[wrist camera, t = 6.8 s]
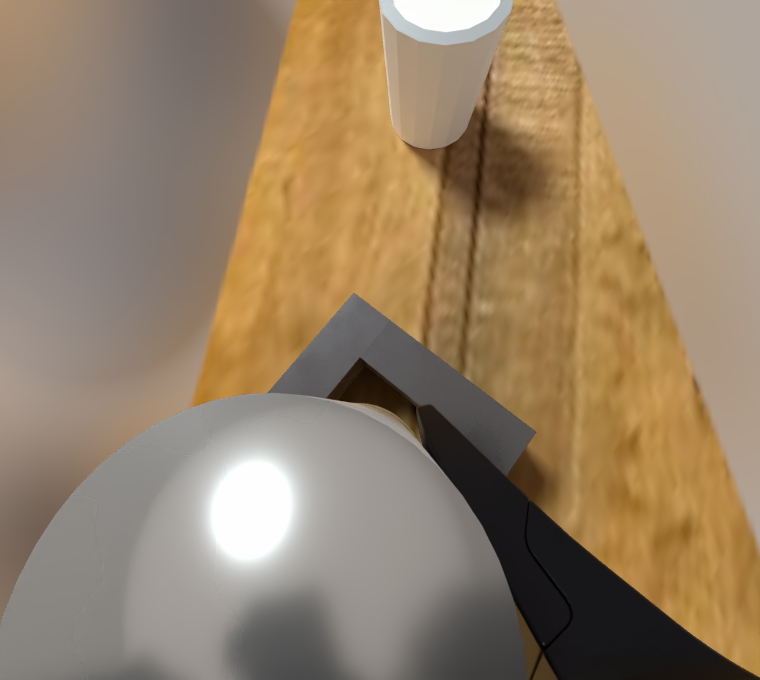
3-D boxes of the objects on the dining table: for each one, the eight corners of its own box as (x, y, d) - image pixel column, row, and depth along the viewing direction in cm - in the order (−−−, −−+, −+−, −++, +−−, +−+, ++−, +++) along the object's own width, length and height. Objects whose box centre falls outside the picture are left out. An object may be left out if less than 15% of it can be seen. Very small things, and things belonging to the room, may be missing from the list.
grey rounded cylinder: (401, 514, 14) (466, 1246, 2) (311, 485, 14) (-143, 912, 2) (424, 419, 15) (577, 466, 3) (339, 394, 15) (124, 335, 3)
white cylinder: (477, 78, 23) (513, -61, 16) (478, 157, 22) (519, 41, 15) (384, 78, 23) (381, -58, 16) (380, 156, 22) (374, 42, 15)
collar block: (388, 597, 16) (387, 648, 13) (239, 456, 18) (203, 467, 15) (508, 427, 18) (536, 432, 14) (360, 312, 19) (353, 292, 16)
